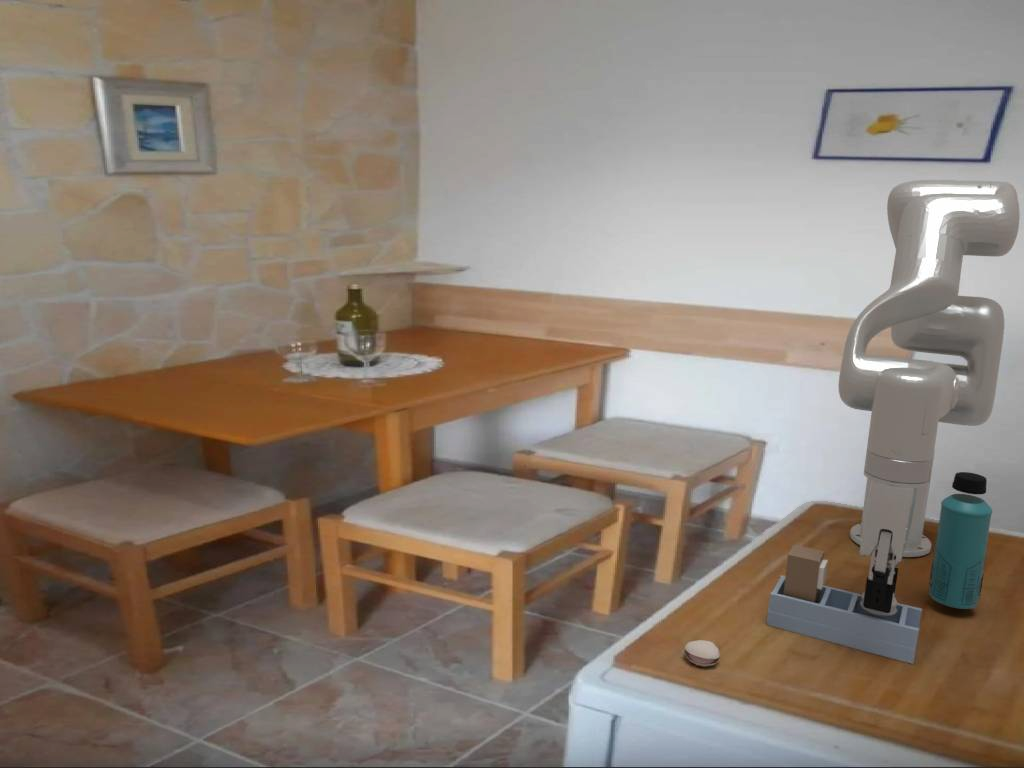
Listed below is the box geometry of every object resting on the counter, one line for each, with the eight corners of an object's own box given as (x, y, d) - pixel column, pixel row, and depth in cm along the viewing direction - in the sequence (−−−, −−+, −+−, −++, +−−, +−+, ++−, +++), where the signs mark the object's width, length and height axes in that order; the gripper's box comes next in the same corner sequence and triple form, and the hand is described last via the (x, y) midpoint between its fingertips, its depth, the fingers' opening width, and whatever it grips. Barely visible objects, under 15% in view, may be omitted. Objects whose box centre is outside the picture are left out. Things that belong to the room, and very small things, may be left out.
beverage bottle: (984, 622, 113) (1007, 484, 109) (932, 616, 115) (953, 480, 110) (968, 600, 120) (989, 469, 115) (919, 595, 121) (938, 465, 117)
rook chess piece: (904, 616, 105) (913, 558, 103) (875, 620, 104) (883, 561, 102) (879, 600, 109) (887, 544, 108) (851, 603, 108) (859, 547, 106)
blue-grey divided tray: (777, 604, 117) (785, 538, 115) (917, 639, 108) (928, 569, 106) (766, 624, 111) (773, 555, 109) (913, 664, 102) (924, 590, 100)
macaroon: (678, 662, 101) (680, 644, 101) (694, 646, 105) (696, 628, 105) (712, 674, 99) (713, 655, 98) (727, 657, 103) (728, 638, 102)
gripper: (872, 446, 111) (856, 571, 115) (856, 479, 97) (838, 620, 101) (934, 455, 108) (915, 584, 112) (926, 492, 93) (905, 637, 97)
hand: (879, 600), depth 106 cm, fingers closed on rook chess piece, 4 cm apart
